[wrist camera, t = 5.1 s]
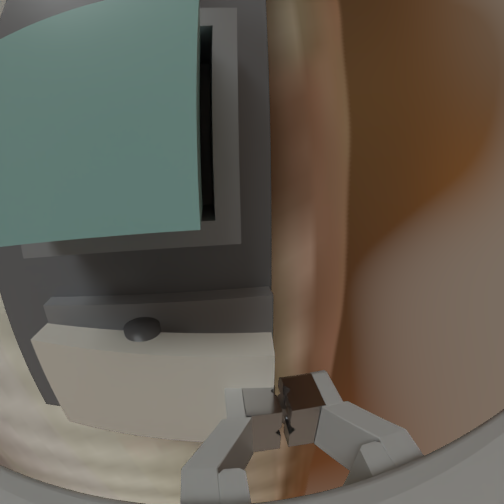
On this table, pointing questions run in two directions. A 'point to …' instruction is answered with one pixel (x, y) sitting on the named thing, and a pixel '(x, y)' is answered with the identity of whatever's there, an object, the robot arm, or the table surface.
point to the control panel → (178, 242)
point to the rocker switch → (151, 376)
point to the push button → (101, 123)
